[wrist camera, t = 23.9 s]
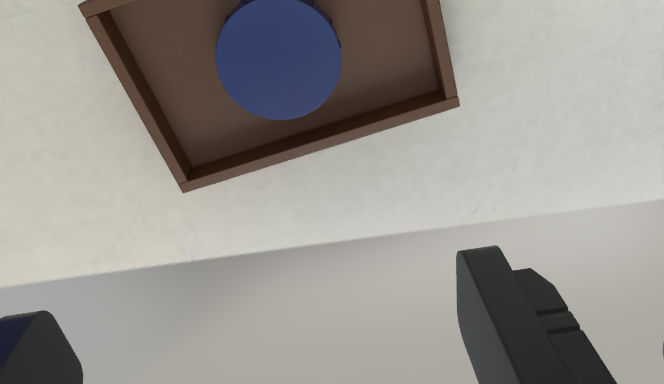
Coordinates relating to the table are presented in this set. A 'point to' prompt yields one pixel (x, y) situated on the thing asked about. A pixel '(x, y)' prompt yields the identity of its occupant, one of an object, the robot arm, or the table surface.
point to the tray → (247, 128)
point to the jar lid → (278, 57)
